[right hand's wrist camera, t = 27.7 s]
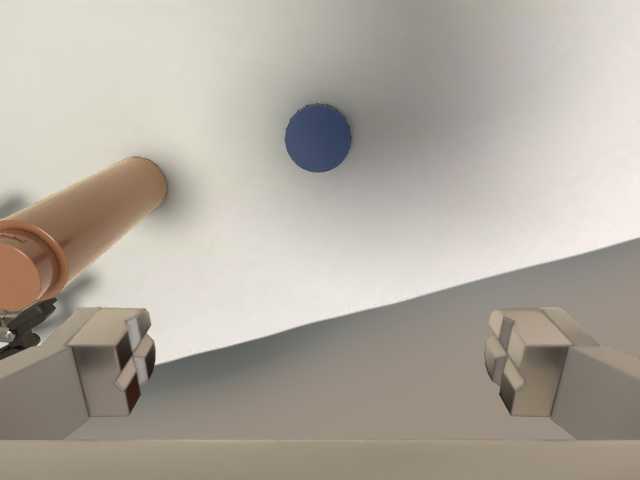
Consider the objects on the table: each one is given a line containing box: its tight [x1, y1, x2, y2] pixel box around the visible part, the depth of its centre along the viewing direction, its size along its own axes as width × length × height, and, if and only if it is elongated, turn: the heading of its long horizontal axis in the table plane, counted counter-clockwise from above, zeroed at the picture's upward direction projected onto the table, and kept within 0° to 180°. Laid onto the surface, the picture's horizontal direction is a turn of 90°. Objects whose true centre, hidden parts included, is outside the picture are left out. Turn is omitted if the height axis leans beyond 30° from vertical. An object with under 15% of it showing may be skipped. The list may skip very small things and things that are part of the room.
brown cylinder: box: [0, 157, 167, 312], centre depth 31 cm, size 5×5×18 cm
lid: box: [285, 103, 351, 172], centre depth 37 cm, size 6×6×2 cm
